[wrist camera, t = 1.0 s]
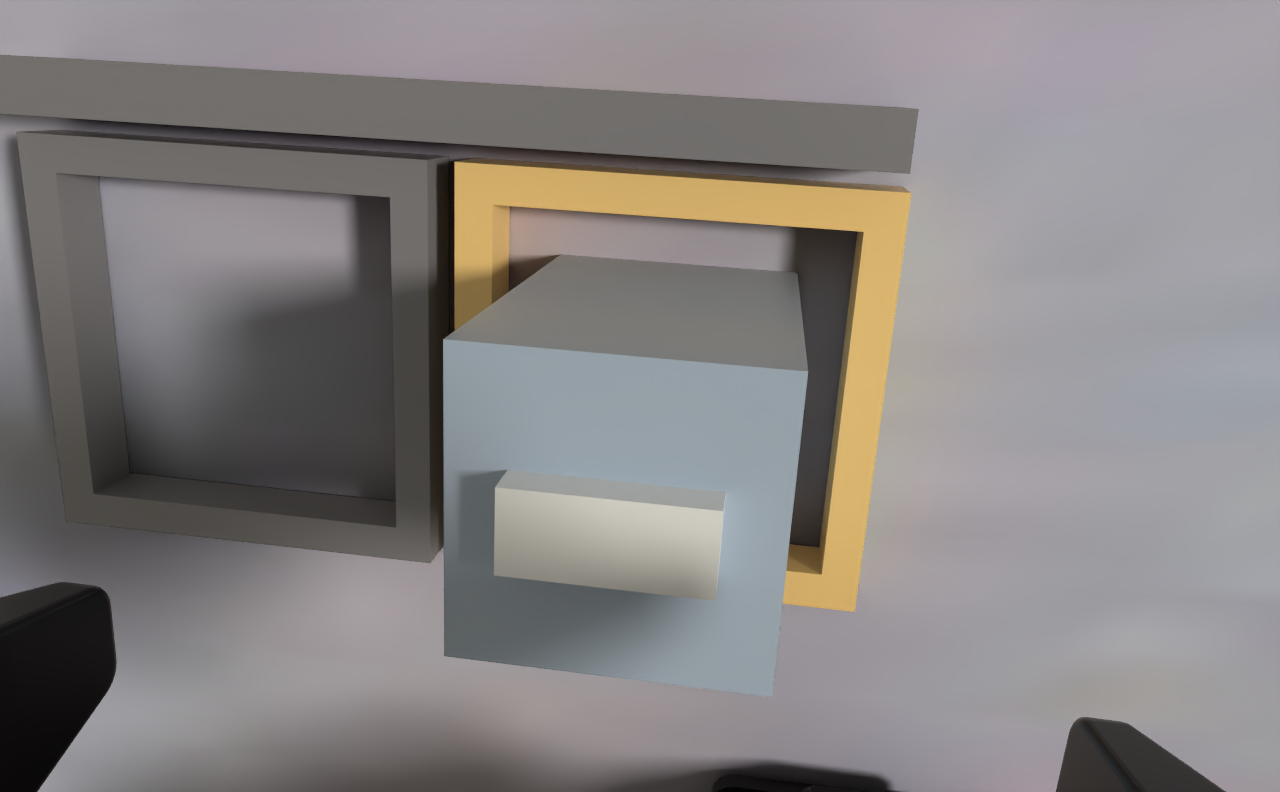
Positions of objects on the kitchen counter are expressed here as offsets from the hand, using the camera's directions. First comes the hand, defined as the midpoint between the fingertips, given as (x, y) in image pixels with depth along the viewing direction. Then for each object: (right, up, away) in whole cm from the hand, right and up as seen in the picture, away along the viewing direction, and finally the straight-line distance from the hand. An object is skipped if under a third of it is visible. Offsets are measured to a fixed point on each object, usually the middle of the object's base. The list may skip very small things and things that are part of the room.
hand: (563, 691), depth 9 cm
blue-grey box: (+1, +3, +10) cm, 11 cm away
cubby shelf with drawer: (-3, +3, +11) cm, 12 cm away
